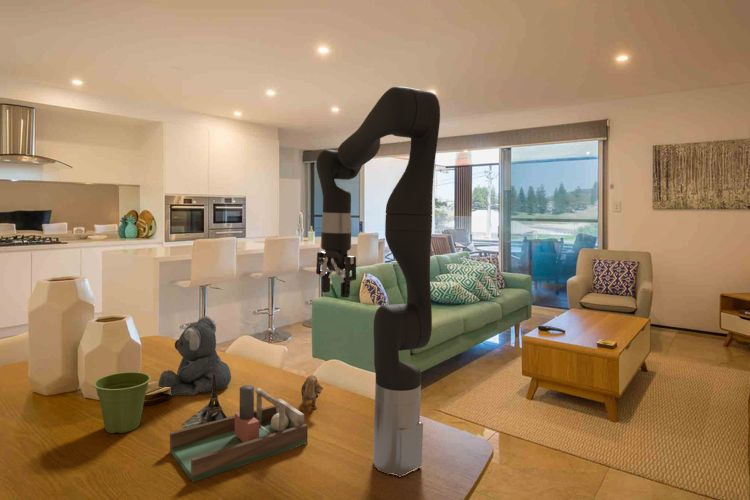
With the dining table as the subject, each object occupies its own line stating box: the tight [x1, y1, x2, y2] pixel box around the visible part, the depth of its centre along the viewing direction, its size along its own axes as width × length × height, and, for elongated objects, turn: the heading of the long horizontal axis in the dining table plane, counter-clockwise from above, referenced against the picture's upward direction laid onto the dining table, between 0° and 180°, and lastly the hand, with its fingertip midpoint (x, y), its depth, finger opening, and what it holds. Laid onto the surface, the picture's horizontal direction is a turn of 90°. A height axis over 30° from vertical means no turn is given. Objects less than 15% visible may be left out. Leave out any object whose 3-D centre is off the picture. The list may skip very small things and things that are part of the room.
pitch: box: [169, 387, 309, 483], centre depth 103 cm, size 14×25×10 cm, turn 130°
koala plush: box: [157, 315, 232, 397], centre depth 137 cm, size 17×18×20 cm
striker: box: [234, 384, 259, 443], centre depth 104 cm, size 7×3×12 cm, turn 40°
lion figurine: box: [300, 374, 324, 411], centre depth 128 cm, size 15×5×9 cm, turn 12°
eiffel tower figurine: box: [181, 370, 228, 429], centre depth 118 cm, size 15×10×13 cm
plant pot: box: [92, 371, 152, 434], centre depth 111 cm, size 12×12×11 cm
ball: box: [271, 413, 289, 431], centre depth 109 cm, size 4×4×4 cm
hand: (335, 294), depth 122 cm, fingers open, 8 cm apart
